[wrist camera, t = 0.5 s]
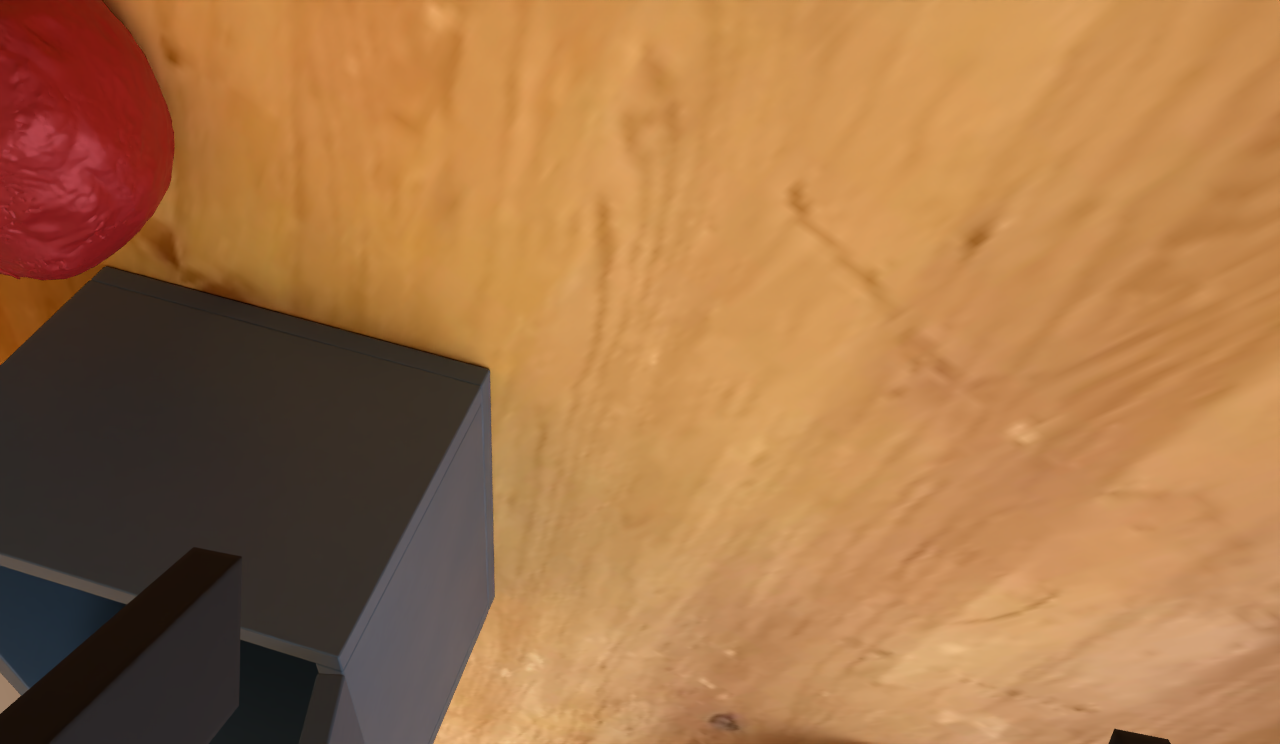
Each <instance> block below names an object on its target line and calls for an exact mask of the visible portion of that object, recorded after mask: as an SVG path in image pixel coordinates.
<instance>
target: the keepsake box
mask: <svg viewBox="0 0 1280 744" xmlns="http://www.w3.org/2000/svg"><path fill="white" fill-rule="evenodd" d="M193 547H197V548H202V549H207V550H212V551H217V552H222V553H227V554H232V555H237V556H242V579H241V630H240V680H239V706H238V707H237V709H236V710H235V711H234V712H233V714H232V715H231V716H230V717H229V719H228V720H227V721H226V722H225V724H224V725H223V726H222V727H221V729H220V730H219V731H218V733H217V734H216V735H215V736H214V738H213V739H212V740H211V741H210V743H209V744H299V741H300V737H301V733H302V729H303V725H304V721H305V718H306V714H307V710H308V706H309V702H310V698H311V695H312V691H313V687H314V683H315V679H316V676H317V674H319V673H323V674H341V675H344V676H345V678H346V682H347V685H348V688H349V692H350V695H351V699H352V702H353V706H354V709H355V712H356V716H357V719H358V723H359V726H360V730H361V733H362V736H363V740H364V743H365V744H433V743H434V740H435V738H436V735H437V733H438V731H439V728H440V726H441V724H442V721H443V719H444V716H445V714H446V712H447V709H448V707H449V705H450V702H451V700H452V697H453V695H454V693H455V690H456V688H457V686H458V683H459V681H460V678H461V676H462V674H463V671H464V669H465V666H466V664H467V662H468V659H469V657H470V655H471V652H472V650H473V647H474V645H475V643H476V640H477V638H478V636H479V633H480V631H481V628H482V626H483V624H484V621H485V619H486V617H487V614H488V610H489V609H490V607H491V604H492V602H493V600H494V597H495V591H494V543H493V495H492V448H491V400H490V370H489V369H485V368H482V367H478V366H474V365H470V364H467V363H463V362H459V361H456V360H452V359H448V358H445V357H441V356H437V355H433V354H430V353H426V352H422V351H419V350H415V349H411V348H407V347H404V346H400V345H396V344H393V343H389V342H385V341H381V340H378V339H374V338H370V337H367V336H363V335H359V334H355V333H352V332H348V331H344V330H341V329H337V328H333V327H329V326H326V325H322V324H318V323H315V322H311V321H307V320H303V319H300V318H296V317H292V316H289V315H285V314H281V313H278V312H274V311H270V310H266V309H263V308H259V307H255V306H252V305H248V304H244V303H240V302H237V301H233V300H229V299H226V298H222V297H218V296H214V295H211V294H207V293H203V292H200V291H196V290H192V289H188V288H185V287H181V286H177V285H174V284H170V283H166V282H162V281H159V280H155V279H151V278H148V277H144V276H140V275H136V274H133V273H129V272H125V271H122V270H118V269H114V268H111V267H107V266H106V267H104V268H103V269H101V270H100V271H99V272H98V273H97V274H96V275H95V276H94V277H93V278H92V280H91V281H88V282H87V283H86V284H85V285H84V286H83V287H82V288H81V289H80V290H79V291H78V292H77V293H76V294H75V295H74V296H73V297H72V298H71V299H70V300H68V301H67V302H66V303H65V304H64V305H63V306H62V307H61V308H60V309H59V310H58V311H57V312H56V313H55V314H54V315H53V316H52V317H51V318H50V319H49V320H48V321H46V322H45V323H44V324H43V325H42V326H41V327H40V328H39V329H38V330H37V331H36V332H35V333H34V334H33V335H32V336H31V337H30V338H29V339H28V340H27V341H26V342H24V343H23V344H22V345H21V346H20V347H19V348H18V349H17V350H16V351H15V352H14V353H13V354H12V355H11V356H10V357H9V358H8V359H7V360H6V361H5V362H4V363H2V364H1V365H0V673H1V674H2V675H3V676H4V677H5V678H6V679H7V680H8V682H9V683H10V684H11V685H12V686H13V687H14V688H15V689H16V690H17V691H18V693H19V694H20V695H21V696H22V695H23V694H24V693H25V692H26V691H27V690H29V689H30V688H31V687H32V686H33V685H34V684H36V683H37V682H38V681H39V680H40V679H41V678H42V677H44V676H45V675H46V674H47V673H48V672H49V671H51V670H52V669H53V668H54V667H55V666H56V665H58V664H59V663H60V662H61V661H62V660H63V659H64V658H66V657H67V656H68V655H69V654H70V653H71V652H73V651H74V650H75V649H76V648H77V647H78V646H80V645H81V644H82V643H83V642H84V641H85V640H86V639H88V638H89V637H90V636H91V635H92V634H93V633H95V632H96V631H97V630H98V629H99V628H100V627H102V626H103V625H104V624H105V623H106V622H107V621H108V620H110V619H111V618H112V617H113V616H114V615H115V614H117V613H118V612H119V611H120V610H121V609H122V608H123V607H125V606H126V605H127V604H128V603H129V602H130V601H132V600H133V599H134V598H135V597H136V596H137V595H139V594H140V593H141V592H142V591H143V590H144V589H145V588H147V587H148V586H149V585H150V584H151V583H152V582H154V581H155V580H156V579H157V578H158V577H159V576H161V575H162V574H163V573H164V572H165V571H166V570H167V569H169V568H170V567H171V566H172V565H173V564H174V563H176V562H177V561H178V560H179V559H180V558H181V557H183V556H184V555H185V554H186V553H187V552H188V551H189V550H191V549H192V548H193Z"/></svg>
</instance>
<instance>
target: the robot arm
mask: <svg viewBox="0 0 1280 744" xmlns="http://www.w3.org/2000/svg"><path fill="white" fill-rule="evenodd" d="M241 579H242V556H237V555H232V554H227V553H222V552H217V551H212V550H207V549H202V548H197V547H193V548H192V549H191V550H189V551H188V552H187V553H186V554H185V555H184V556H183V557H181V558H180V559H179V560H178V561H177V562H176V563H174V564H173V565H172V566H171V567H170V568H169V569H167V570H166V571H165V572H164V573H163V574H162V575H161V576H159V577H158V578H157V579H156V580H155V581H154V582H152V583H151V584H150V585H149V586H148V587H147V588H145V589H144V590H143V591H142V592H141V593H140V594H139V595H137V596H136V597H135V598H134V599H133V600H132V601H130V602H129V603H128V604H127V605H126V606H125V607H123V608H122V609H121V610H120V611H119V612H118V613H117V614H115V615H114V616H113V617H112V618H111V619H110V620H108V621H107V622H106V623H105V624H104V625H103V626H102V627H100V628H99V629H98V630H97V631H96V632H95V633H93V634H92V635H91V636H90V637H89V638H88V639H86V640H85V641H84V642H83V643H82V644H81V645H80V646H78V647H77V648H76V649H75V650H74V651H73V652H71V653H70V654H69V655H68V656H67V657H66V658H64V659H63V660H62V661H61V662H60V663H59V664H58V665H56V666H55V667H54V668H53V669H52V670H51V671H49V672H48V673H47V674H46V675H45V676H44V677H42V678H41V679H40V680H39V681H38V682H37V683H36V684H34V685H33V686H32V687H31V688H30V689H29V690H27V691H26V692H25V693H24V694H23V695H22V696H20V697H19V698H18V699H17V700H16V701H15V702H14V703H12V704H11V705H10V706H9V707H8V708H7V709H5V710H4V711H3V712H2V713H1V714H0V744H209V743H210V741H211V740H212V739H213V738H214V736H215V735H216V734H217V733H218V731H219V730H220V729H221V727H222V726H223V725H224V724H225V722H226V721H227V720H228V719H229V717H230V716H231V715H232V714H233V712H234V711H235V710H236V709H237V707H238V706H239V680H240V630H241ZM1109 744H1171V743H1170V742H1169V740H1168V739H1163V738H1158V737H1153V736H1148V735H1143V734H1138V733H1133V732H1128V731H1123V730H1118V729H1114V731H1113V734H1112V736H1111V739H1110V741H1109Z"/></svg>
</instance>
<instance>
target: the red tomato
mask: <svg viewBox="0 0 1280 744" xmlns="http://www.w3.org/2000/svg"><path fill="white" fill-rule="evenodd" d="M173 159H174V132H173V129H172V120H171V117H170V114H169V111H168V107H167V104H166V102H165V100H164V98H163V95H162V93H161V90H160V87H159V85H158V82H157V80H156V78H155V76H154V74H153V72H152V69H151V67H150V65H149V63H148V61H147V59H146V57H145V55H144V54H143V52H142V51H141V49H140V47H139V46H138V45H137V43H136V42H135V40H134V39H133V37H132V35H131V33H130V32H129V31H128V30H127V28H126V27H125V26H124V25H123V24H122V23H121V22H120V21H119V20H118V19H117V18H116V17H115V16H114V15H113V14H112V12H111V11H110V10H109V9H108V8H107V6H106V5H105V4H104V2H103V1H102V0H0V274H4V275H9V276H13V277H15V278H17V279H20V277H28V278H33V279H39V280H53V279H55V280H56V279H67V278H70V277H73V276H76V275H78V274H81V273H83V272H85V271H87V270H88V269H90V268H93V267H95V266H96V265H98V264H99V263H101V262H102V261H104V260H105V259H107V258H108V257H110V256H111V255H112V254H114V253H115V252H117V251H118V250H119V249H120V248H121V247H123V246H124V245H125V244H126V243H127V242H128V241H129V240H130V239H132V238H133V237H134V236H135V235H136V234H137V233H138V232H139V231H140V230H141V228H142V227H143V226H144V225H145V223H146V222H147V221H148V220H149V219H150V217H151V216H152V215H153V214H154V212H155V211H156V209H157V207H158V205H159V203H160V202H161V200H162V198H163V196H164V195H165V193H166V191H167V189H168V187H169V184H170V181H171V172H172V165H173Z"/></svg>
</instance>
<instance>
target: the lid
mask: <svg viewBox="0 0 1280 744" xmlns="http://www.w3.org/2000/svg"><path fill="white" fill-rule="evenodd" d="M299 744H365V743H364V740H363V736H362V733H361V730H360V726H359V723H358V719H357V716H356V712H355V709H354V706H353V702H352V699H351V695H350V692H349V688H348V685H347V682H346V678H345V676H344V675H341V674H323V673H319V674H317V676H316V679H315V683H314V687H313V691H312V695H311V698H310V702H309V706H308V710H307V714H306V718H305V721H304V725H303V729H302V733H301V737H300V741H299Z"/></svg>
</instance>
